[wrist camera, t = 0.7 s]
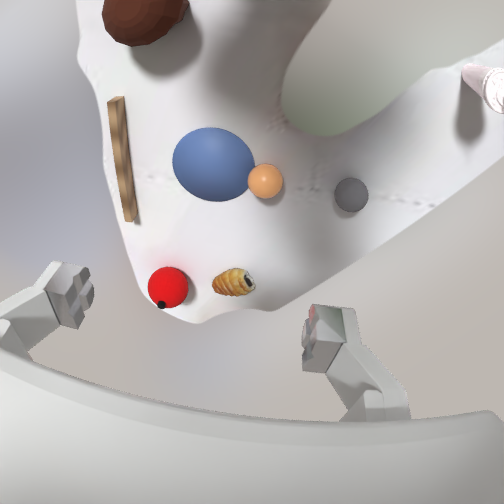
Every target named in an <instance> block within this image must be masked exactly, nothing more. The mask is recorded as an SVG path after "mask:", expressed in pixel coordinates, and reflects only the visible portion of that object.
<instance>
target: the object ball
mask: <svg viewBox="0 0 504 504" xmlns="http://www.w3.org/2000/svg"><path fill="white" fill-rule="evenodd" d="M282 184H283V178H282V175H281V173H280V171H279V170H278V169H277V168H276V167H275V166H273V165H270V164H260V165H258V166H256V167H254V168H253V169H252V170H251V172H250V173H249V176H248V186H249V189H250V191H251V192H252V193H253V194H254V195H255V196H257V197H259V198H271V197H273V196H275V195H277V194H278V193H279V191H280V190H281V188H282Z"/></svg>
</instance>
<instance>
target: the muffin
mask: <svg viewBox="0 0 504 504" xmlns="http://www.w3.org/2000/svg"><path fill="white" fill-rule="evenodd" d="M188 5H189V2H188V0H105V1H104V5H103V11H102V18H103V22H104V26H105V29H106V31H107V32H108V33H109V34H110V35H111V36H112V38H113V39H114V40H115V41H116V42H119V43H122V44H125V45H128V46H131V47H133V46H140V45H148V44H151V43H152V42H154V41H156V40H157V39H159V38H161V37H162V36H164V35H166V34H167V32H168V31H169V30H170V29H171V27H172V26H173V25H175V24H176V23H178V22H180V21H182V20H183V17H184V13H185V11H186V9H187V7H188Z"/></svg>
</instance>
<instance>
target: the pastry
mask: <svg viewBox="0 0 504 504" xmlns="http://www.w3.org/2000/svg"><path fill="white" fill-rule="evenodd" d="M212 287H213V289H214V291H215V292H216V293H219V294H222V295H225V296H227V295H230V296H234V295H235V296H240V295H246V294H248V292H251V291H252V290H253V289H254V288H255V284H254V282H253V279H252V278H251V277H250V276H249V274H248V272H247V271H246V270H243V269H239V268H234V269H231V270H230V269H229V270H227V271H225V272H223V273H222V274H220V275H218V276H217V277H215V279H214V280H213V282H212Z"/></svg>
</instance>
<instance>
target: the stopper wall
mask: <svg viewBox="0 0 504 504" xmlns="http://www.w3.org/2000/svg"><path fill="white" fill-rule="evenodd" d="M107 106H108V116H109V125H110V133H111V141H112V148H113V155H114V162H115V168H116V174H117V180H118V186H119V192H120V197H121V203H122V208H123V213H124V218H125V222H133V220H134V218H135V217H136V215H137V214H138V211H137V205H136V199H135V192H134V186H133V179H132V171H131V164H130V156H129V147H128V138H127V128H126V118H125V106H124V96H120V97H115V98H113V99H111V100H110V101H108V102H107Z"/></svg>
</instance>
